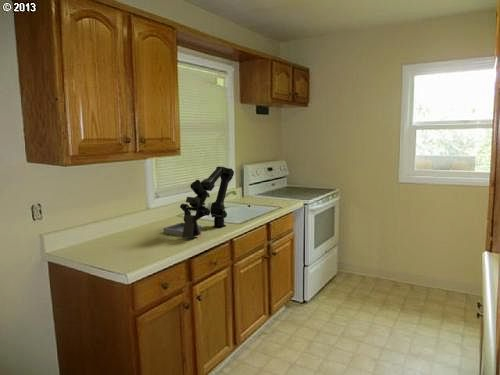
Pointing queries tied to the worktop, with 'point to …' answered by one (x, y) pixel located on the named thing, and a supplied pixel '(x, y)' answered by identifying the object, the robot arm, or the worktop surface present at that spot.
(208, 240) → the worktop surface
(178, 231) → the tray
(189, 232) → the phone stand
